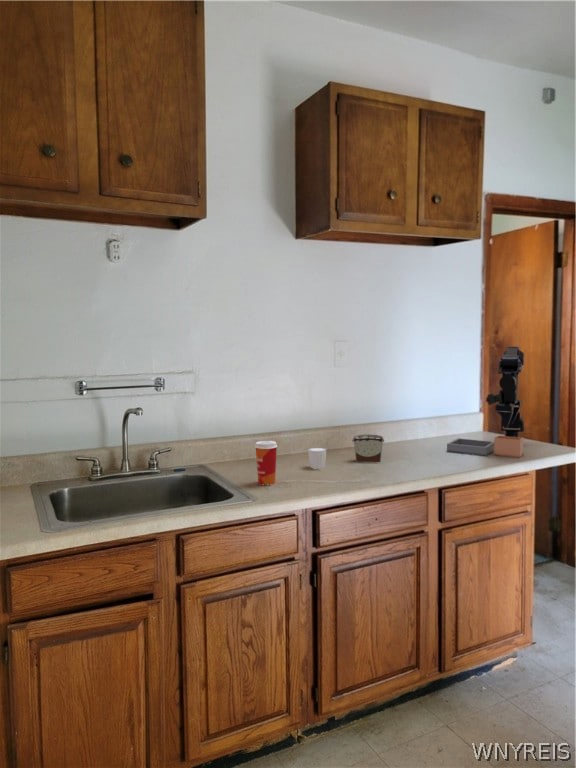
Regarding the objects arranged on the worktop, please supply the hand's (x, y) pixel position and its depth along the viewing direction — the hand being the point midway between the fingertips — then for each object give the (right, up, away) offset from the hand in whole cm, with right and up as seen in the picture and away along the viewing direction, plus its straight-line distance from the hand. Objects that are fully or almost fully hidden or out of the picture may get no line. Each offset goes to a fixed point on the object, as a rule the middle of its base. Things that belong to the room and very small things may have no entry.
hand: (508, 426), depth 231 cm
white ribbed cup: (-78, -15, -16) cm, 80 cm away
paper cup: (-96, -17, -37) cm, 104 cm away
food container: (-57, -13, -6) cm, 59 cm away
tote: (+1, -12, +1) cm, 12 cm away
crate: (-12, -11, +9) cm, 19 cm away
